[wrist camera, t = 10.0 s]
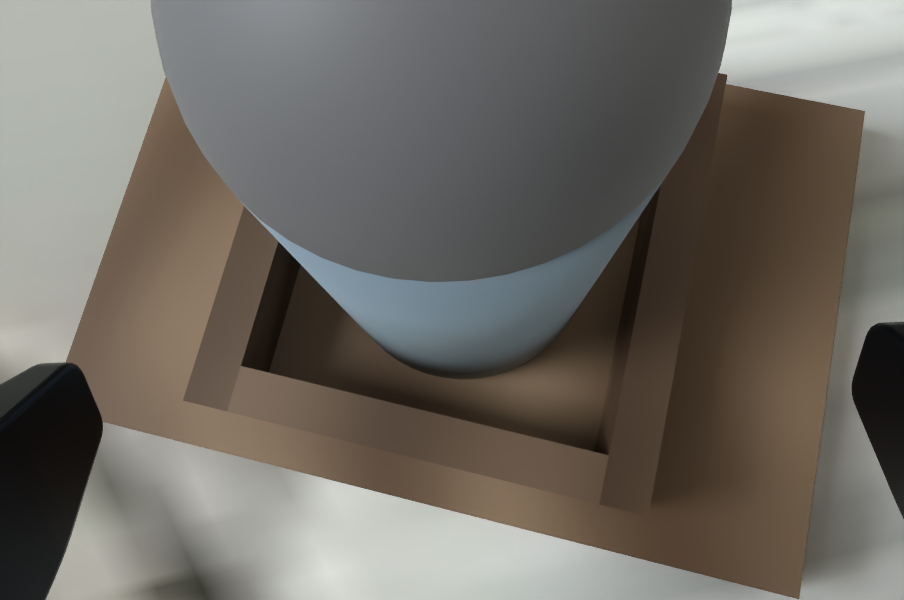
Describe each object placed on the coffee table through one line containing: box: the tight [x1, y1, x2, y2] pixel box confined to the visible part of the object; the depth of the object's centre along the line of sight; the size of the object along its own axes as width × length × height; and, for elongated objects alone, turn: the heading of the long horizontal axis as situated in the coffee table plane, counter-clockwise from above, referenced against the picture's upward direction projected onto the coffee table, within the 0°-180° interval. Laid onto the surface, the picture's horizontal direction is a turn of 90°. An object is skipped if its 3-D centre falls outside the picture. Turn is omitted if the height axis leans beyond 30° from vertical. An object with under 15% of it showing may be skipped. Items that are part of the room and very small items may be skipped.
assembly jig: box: [66, 73, 865, 599], centre depth 17 cm, size 18×12×4 cm, turn 76°
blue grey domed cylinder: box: [151, 0, 732, 380], centre depth 11 cm, size 6×6×13 cm
